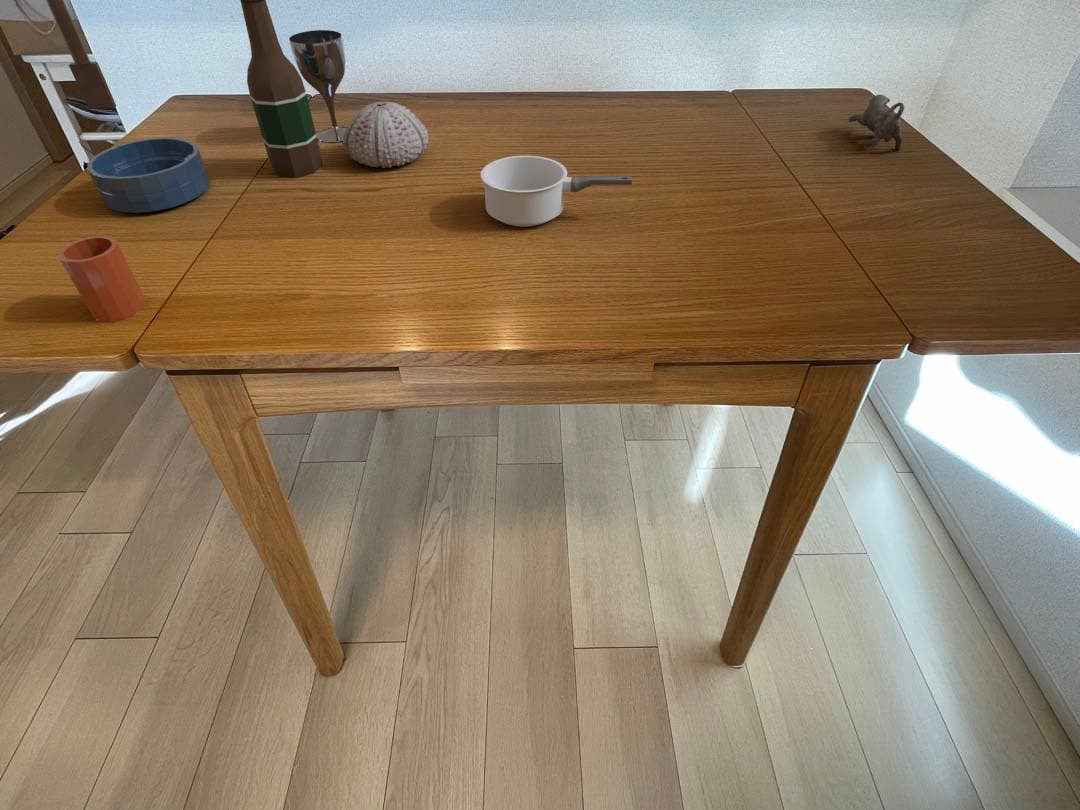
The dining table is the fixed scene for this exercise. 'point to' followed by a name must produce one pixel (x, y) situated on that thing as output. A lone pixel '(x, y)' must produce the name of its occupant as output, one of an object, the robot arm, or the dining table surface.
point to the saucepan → (532, 189)
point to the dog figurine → (881, 121)
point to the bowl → (149, 174)
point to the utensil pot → (103, 278)
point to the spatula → (82, 61)
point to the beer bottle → (279, 98)
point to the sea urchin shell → (385, 135)
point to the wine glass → (322, 70)
